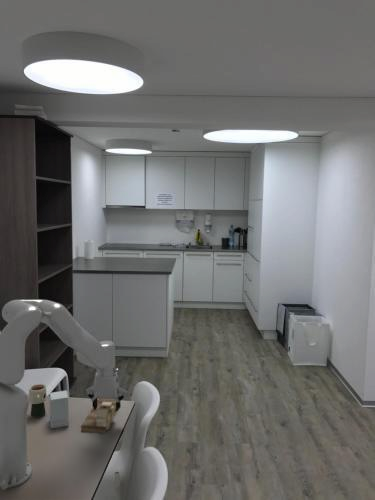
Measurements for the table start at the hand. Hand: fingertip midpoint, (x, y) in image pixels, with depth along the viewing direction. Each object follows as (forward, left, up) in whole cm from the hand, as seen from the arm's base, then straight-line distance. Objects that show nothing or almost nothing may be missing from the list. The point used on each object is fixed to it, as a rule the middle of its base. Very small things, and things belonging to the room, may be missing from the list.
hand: (106, 409), depth 167 cm
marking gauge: (0, 0, -6) cm, 6 cm away
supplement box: (+8, +19, -8) cm, 22 cm away
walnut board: (+8, +1, -8) cm, 11 cm away
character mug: (+17, +28, -8) cm, 34 cm away
